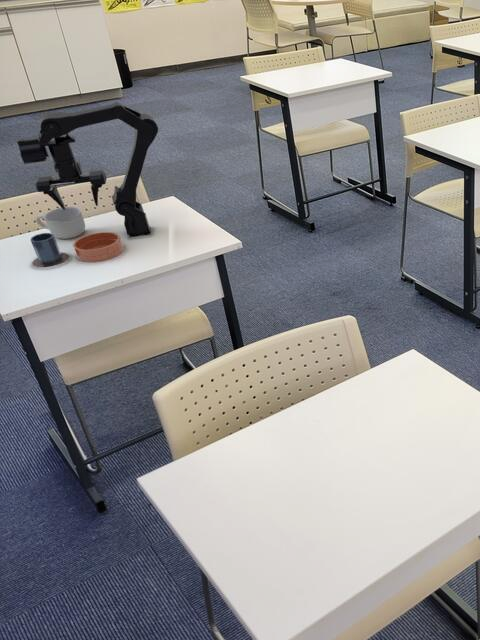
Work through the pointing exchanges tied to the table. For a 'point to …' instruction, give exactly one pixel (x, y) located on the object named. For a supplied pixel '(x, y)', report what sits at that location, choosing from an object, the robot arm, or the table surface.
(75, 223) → the teacup
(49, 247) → the cup
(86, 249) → the bowl
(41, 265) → the coaster
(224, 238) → the table surface
